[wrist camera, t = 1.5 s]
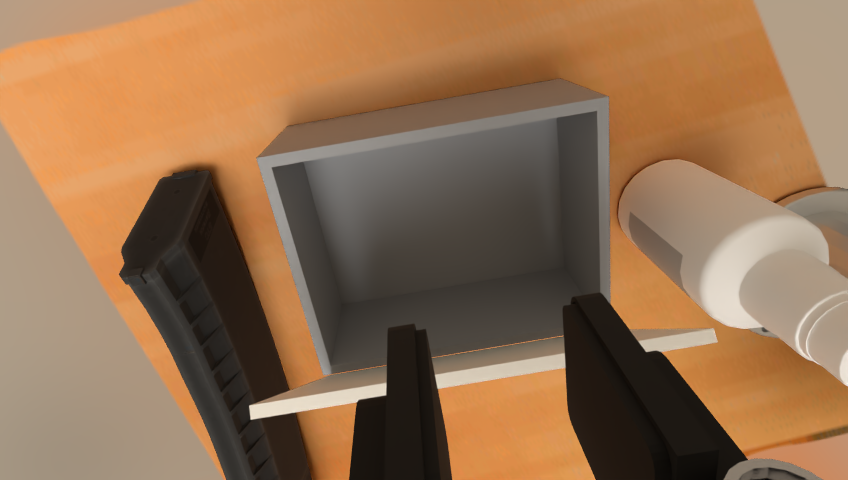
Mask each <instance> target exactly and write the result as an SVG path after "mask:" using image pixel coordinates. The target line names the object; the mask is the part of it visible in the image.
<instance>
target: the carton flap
mask: <svg viewBox="0 0 848 480" xmlns="http://www.w3.org/2000/svg"><path fill="white" fill-rule="evenodd" d="M629 330H630V331H631V332H632V334H633V335H634V336H635V338H636V339H637V340H638V342H639V343H640V344H641V346H642V347H643V348H644V350H645V351H646V352H650V351H656V350H657V351H659V352H663V351H669V350H675V349H681V348H687V347H693V346H699V345H705V344H711V343H717V338H716V334H715V331H714V328H707V329H629ZM432 362H433V367H434V373H435V378H436V383H437V388H438V389H440V388H446V387H452V386H458V385H464V384H470V383H476V382H482V381H488V380H494V379H500V378H506V377H512V376H518V375H524V374H530V373H536V372H542V371H548V370H554V369H560V368H565V349H564V336H563V337H557V338H551V339H545V340H539V341H533V342H527V343H521V344H515V345H509V346H503V347H497V348H491V349H485V350H479V351H473V352H467V353H461V354H455V355H449V356H443V357H437V358H432ZM386 382H387V366H383V367H377V368H371V369H365V370H359V371H353V372H347V373H341V374H335V375H330V376H327V377H325V378H322V379H319V380H317V381H314V382H311V383H309V384H306V385H303V386H300V387H298V388H295V389H292V390H290V391H287V392H284V393H282V394H279V395H276V396H274V397H271V398H268V399H266V400H263V401H260V402H257V403H255V404H252V405H249V408H250V419H251V420H252V419H258V418H264V417H270V416H276V415H283V414H289V413H295V412H301V411H307V410H313V409H319V408H325V407H331V406H337V405H343V404H349V403H355V402H358V400H360V399H366V398H372V397H378V396H384V395H386Z"/></svg>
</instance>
